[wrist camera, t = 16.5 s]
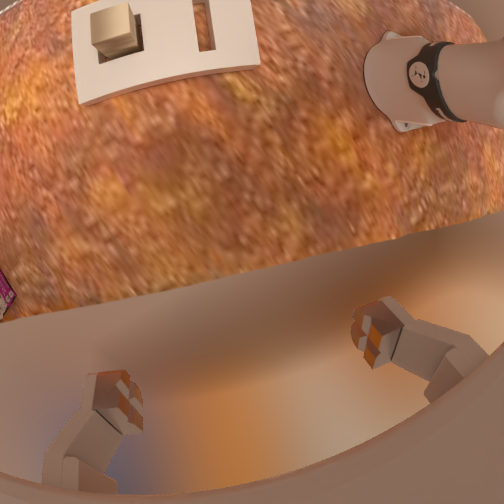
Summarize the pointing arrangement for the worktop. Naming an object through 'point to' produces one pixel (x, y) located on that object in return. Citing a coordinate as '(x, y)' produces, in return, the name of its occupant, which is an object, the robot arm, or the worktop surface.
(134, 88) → the socket board
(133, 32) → the square peg
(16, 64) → the worktop surface
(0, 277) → the candy bar box
